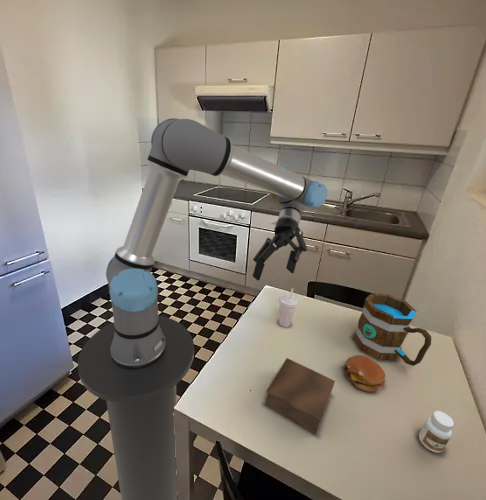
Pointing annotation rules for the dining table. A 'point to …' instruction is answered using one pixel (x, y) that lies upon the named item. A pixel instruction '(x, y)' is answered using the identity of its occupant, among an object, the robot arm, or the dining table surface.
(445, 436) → the pill bottle
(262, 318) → the dining table surface
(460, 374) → the dining table surface
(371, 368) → the burger
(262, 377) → the dining table surface
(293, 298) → the smoothie
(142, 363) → the robot arm
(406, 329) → the mug
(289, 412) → the walnut box
